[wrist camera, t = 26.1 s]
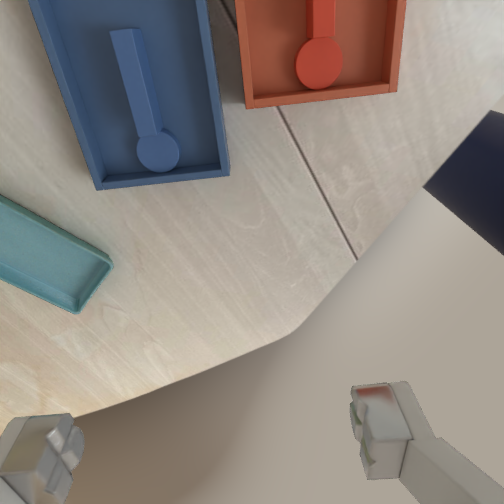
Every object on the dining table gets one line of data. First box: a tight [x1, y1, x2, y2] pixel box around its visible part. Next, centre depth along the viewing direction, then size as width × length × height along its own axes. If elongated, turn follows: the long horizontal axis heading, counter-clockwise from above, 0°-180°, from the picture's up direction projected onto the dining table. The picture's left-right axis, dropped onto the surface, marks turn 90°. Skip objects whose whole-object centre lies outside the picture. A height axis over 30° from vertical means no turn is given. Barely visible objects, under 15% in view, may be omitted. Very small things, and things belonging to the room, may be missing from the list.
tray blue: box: [28, 0, 230, 191], centre depth 29 cm, size 12×16×2 cm
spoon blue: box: [109, 28, 181, 173], centre depth 29 cm, size 11×4×3 cm, turn 6°
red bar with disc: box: [294, 0, 343, 90], centre depth 26 cm, size 11×4×3 cm, turn 6°
